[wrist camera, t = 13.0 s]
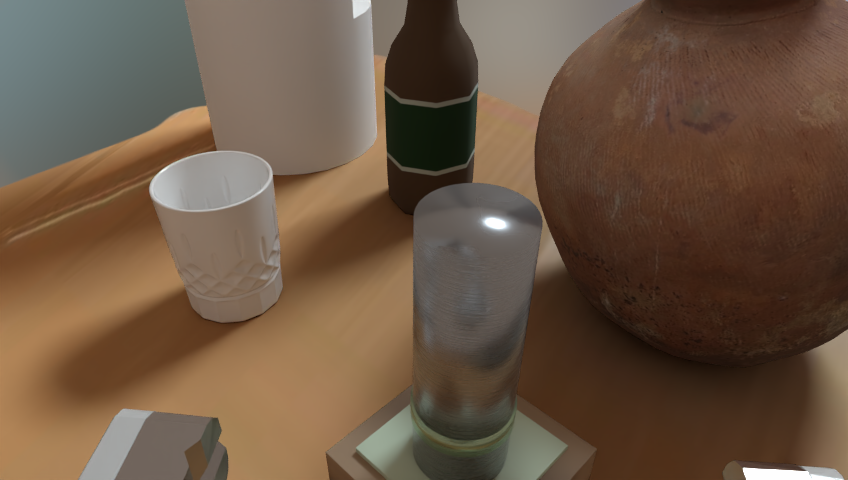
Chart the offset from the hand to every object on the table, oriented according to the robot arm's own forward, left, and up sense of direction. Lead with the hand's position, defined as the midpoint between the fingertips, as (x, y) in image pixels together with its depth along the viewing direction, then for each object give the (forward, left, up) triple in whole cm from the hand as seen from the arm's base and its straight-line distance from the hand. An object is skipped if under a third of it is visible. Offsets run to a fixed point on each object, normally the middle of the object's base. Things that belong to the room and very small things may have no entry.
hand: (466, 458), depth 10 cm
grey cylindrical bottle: (+9, +8, -16) cm, 20 cm away
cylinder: (+30, +50, -23) cm, 63 cm away
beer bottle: (+31, +31, -23) cm, 49 cm away
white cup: (+11, +32, -23) cm, 41 cm away
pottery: (+33, +8, -23) cm, 41 cm away
